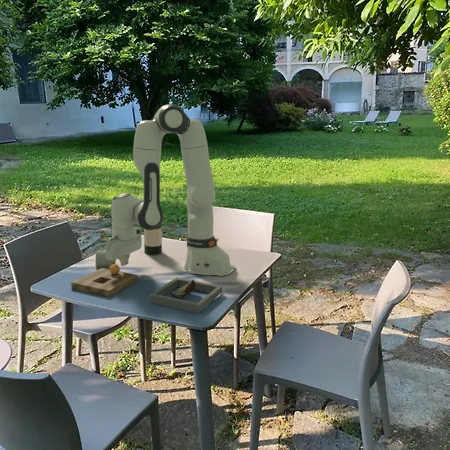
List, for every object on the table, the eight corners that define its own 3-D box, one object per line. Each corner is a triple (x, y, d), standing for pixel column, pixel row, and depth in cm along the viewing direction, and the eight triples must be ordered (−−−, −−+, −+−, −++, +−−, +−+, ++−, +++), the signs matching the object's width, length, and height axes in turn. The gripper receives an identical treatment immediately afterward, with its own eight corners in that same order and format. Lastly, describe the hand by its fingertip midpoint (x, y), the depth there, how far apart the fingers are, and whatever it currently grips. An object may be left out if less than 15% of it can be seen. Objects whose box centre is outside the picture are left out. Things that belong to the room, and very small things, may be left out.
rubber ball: (121, 272, 182) (121, 263, 181) (115, 276, 178) (115, 266, 177) (114, 271, 183) (113, 262, 182) (107, 274, 180) (107, 265, 179)
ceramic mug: (115, 269, 192) (114, 252, 191) (95, 270, 191) (94, 253, 189) (116, 262, 203) (116, 245, 201) (98, 262, 201) (97, 246, 199)
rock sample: (174, 279, 173) (185, 269, 167) (189, 291, 174) (201, 282, 168) (162, 298, 165) (173, 289, 159) (178, 311, 167) (190, 302, 161)
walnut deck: (137, 280, 181) (137, 274, 180) (109, 296, 165) (108, 290, 164) (102, 273, 188) (102, 267, 187) (71, 288, 172) (71, 282, 171)
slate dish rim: (222, 293, 169) (222, 286, 169) (198, 313, 153) (198, 305, 152) (176, 284, 177) (176, 277, 176) (149, 302, 160) (149, 294, 160)
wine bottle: (145, 249, 220) (143, 189, 213) (162, 249, 221) (161, 189, 213) (144, 255, 212) (142, 193, 204) (161, 254, 213) (160, 192, 205)
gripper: (113, 240, 172) (114, 274, 176) (143, 228, 190) (144, 259, 194) (100, 238, 175) (102, 271, 178) (131, 226, 193) (132, 256, 196)
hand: (124, 264), depth 186 cm, fingers closed
